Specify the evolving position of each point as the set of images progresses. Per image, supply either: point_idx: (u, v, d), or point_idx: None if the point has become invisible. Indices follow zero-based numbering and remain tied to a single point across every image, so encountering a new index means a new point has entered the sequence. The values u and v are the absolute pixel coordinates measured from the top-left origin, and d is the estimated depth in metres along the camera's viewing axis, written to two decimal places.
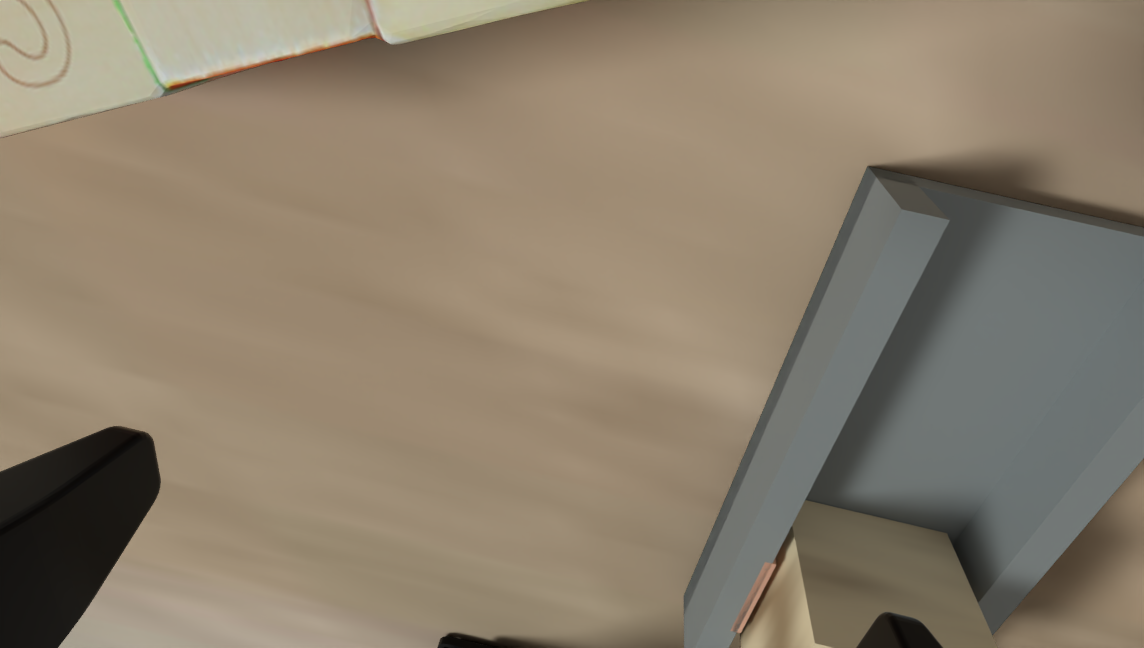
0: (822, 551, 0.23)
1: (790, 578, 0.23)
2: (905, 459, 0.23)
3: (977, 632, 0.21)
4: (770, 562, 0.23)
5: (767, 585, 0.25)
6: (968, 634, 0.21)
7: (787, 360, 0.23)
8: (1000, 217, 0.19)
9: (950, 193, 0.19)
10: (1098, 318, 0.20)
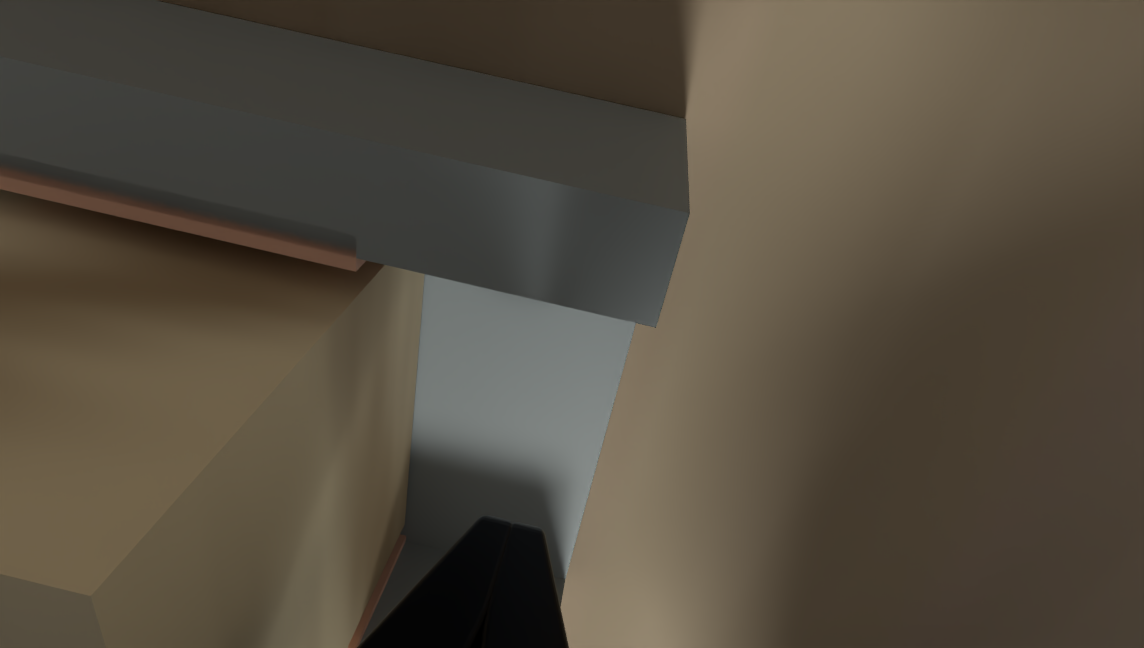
0: None
1: None
2: None
3: None
4: None
5: None
6: None
7: None
8: None
9: None
10: None
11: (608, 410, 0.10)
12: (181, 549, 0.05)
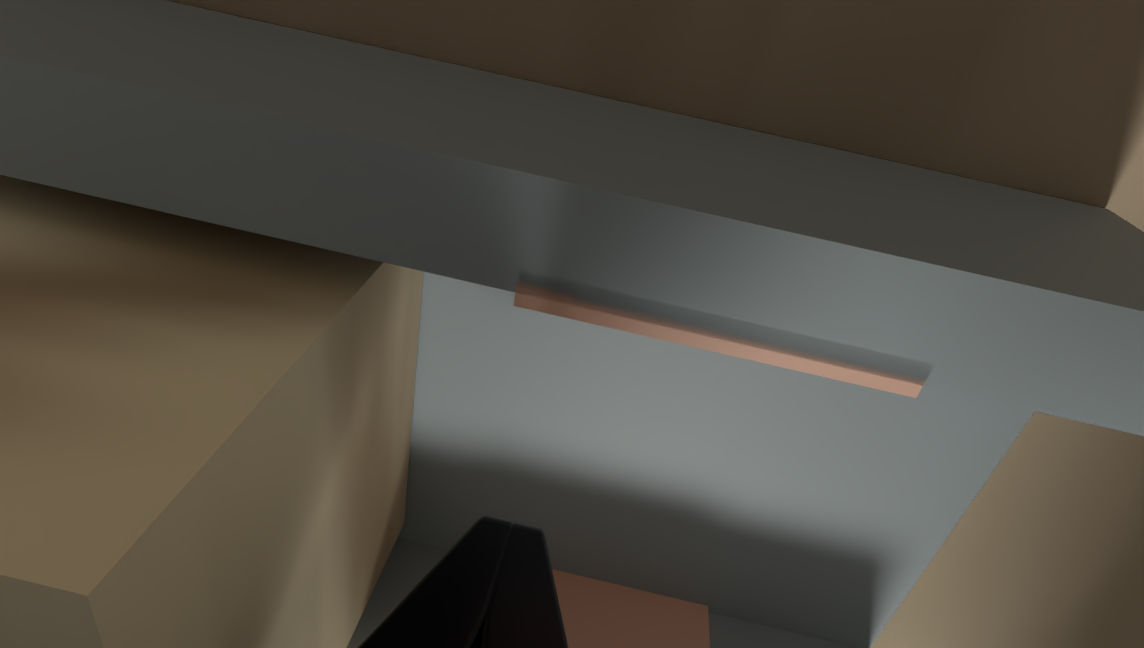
0: None
1: None
2: None
3: None
4: None
5: None
6: None
7: None
8: None
9: None
10: None
11: (974, 493, 0.10)
12: (178, 547, 0.05)
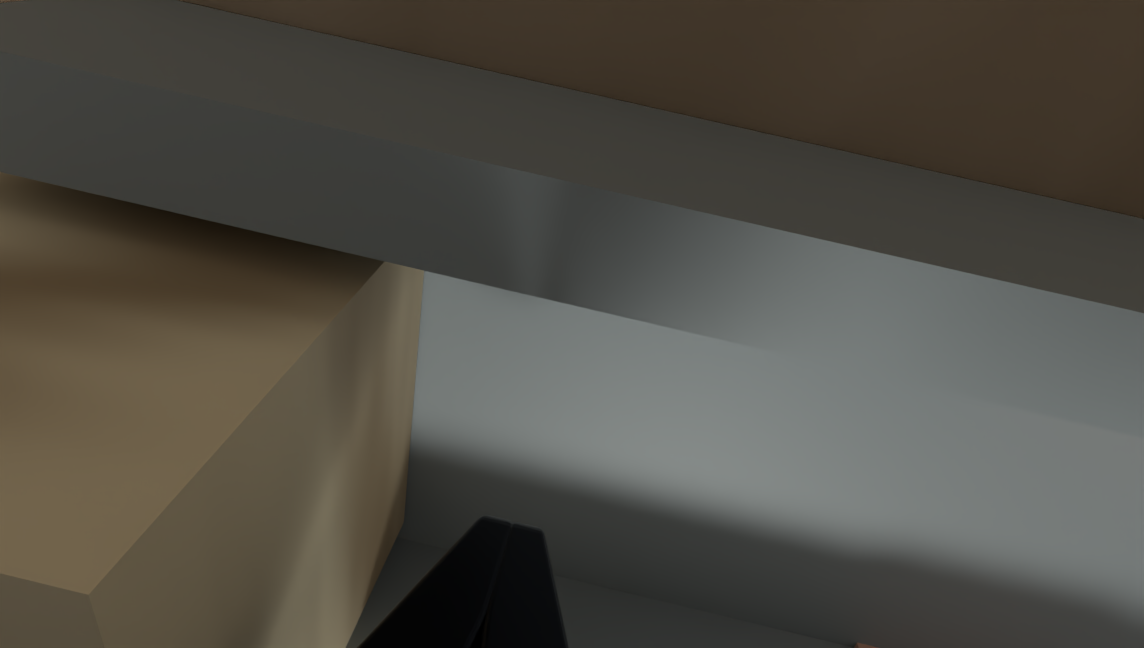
0: None
1: None
2: (706, 445, 0.10)
3: None
4: None
5: None
6: None
7: None
8: None
9: None
10: None
11: None
12: (179, 546, 0.05)
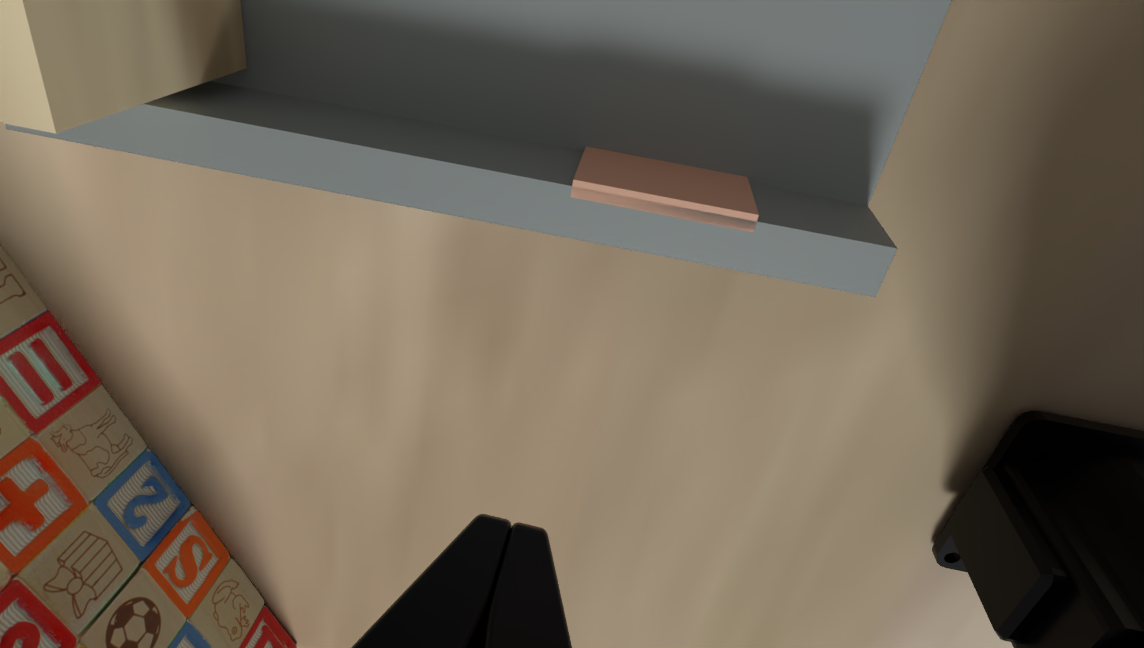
0: None
1: None
2: None
3: None
4: (570, 189, 0.14)
5: None
6: None
7: None
8: None
9: None
10: None
11: (936, 30, 0.14)
12: None
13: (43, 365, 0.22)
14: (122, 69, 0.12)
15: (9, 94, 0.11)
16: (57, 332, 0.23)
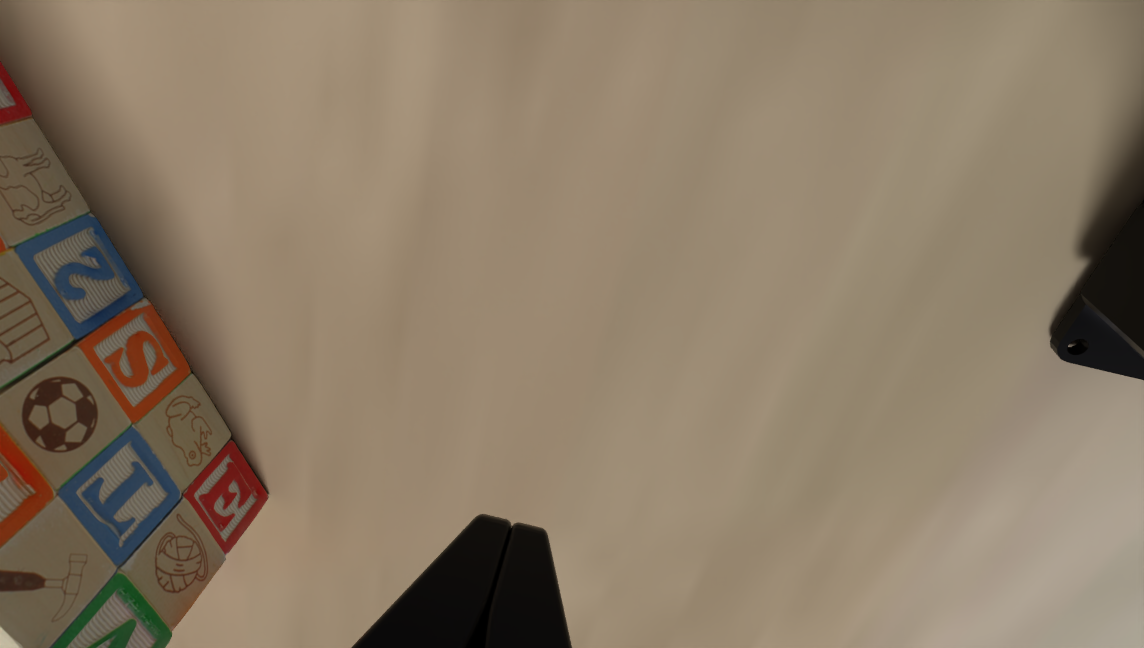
0: None
1: None
2: None
3: None
4: None
5: None
6: None
7: None
8: None
9: None
10: None
11: None
12: None
13: None
14: None
15: None
16: None
